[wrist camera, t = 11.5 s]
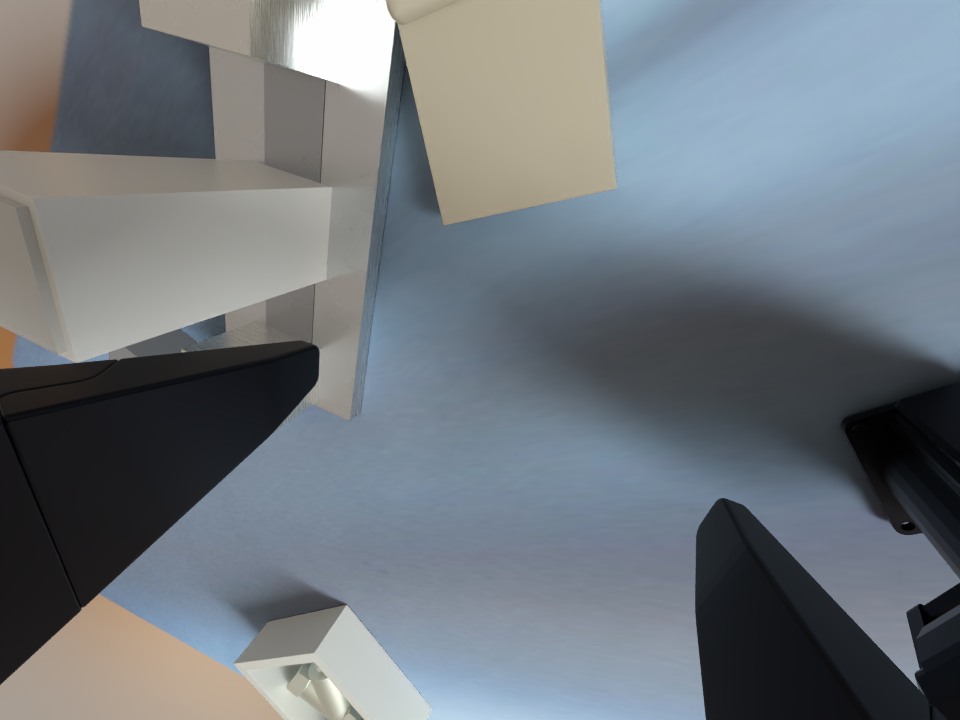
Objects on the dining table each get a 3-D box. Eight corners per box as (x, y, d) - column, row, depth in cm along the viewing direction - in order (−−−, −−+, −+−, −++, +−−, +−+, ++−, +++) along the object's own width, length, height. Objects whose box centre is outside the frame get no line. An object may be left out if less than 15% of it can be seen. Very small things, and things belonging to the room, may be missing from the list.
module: (332, 187, 21) (19, 198, 10) (325, 279, 23) (66, 366, 13) (250, 159, 22) (-112, 144, 11) (252, 251, 24) (-46, 309, 14)
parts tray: (432, 708, 40) (410, 764, 37) (344, 709, 47) (318, 757, 43) (346, 604, 38) (314, 653, 34) (268, 621, 45) (233, 663, 41)
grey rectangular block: (230, 364, 31) (178, 388, 27) (221, 400, 33) (172, 426, 29) (168, 318, 31) (109, 336, 28) (163, 356, 33) (108, 377, 30)
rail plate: (416, -23, 17) (316, -112, 12) (360, 412, 28) (295, 467, 23) (225, -63, 19) (64, -156, 14) (242, 359, 30) (156, 399, 25)
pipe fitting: (328, 630, 43) (305, 656, 46) (302, 668, 39) (280, 694, 42) (389, 679, 42) (362, 702, 45) (368, 721, 39) (341, 744, 42)
